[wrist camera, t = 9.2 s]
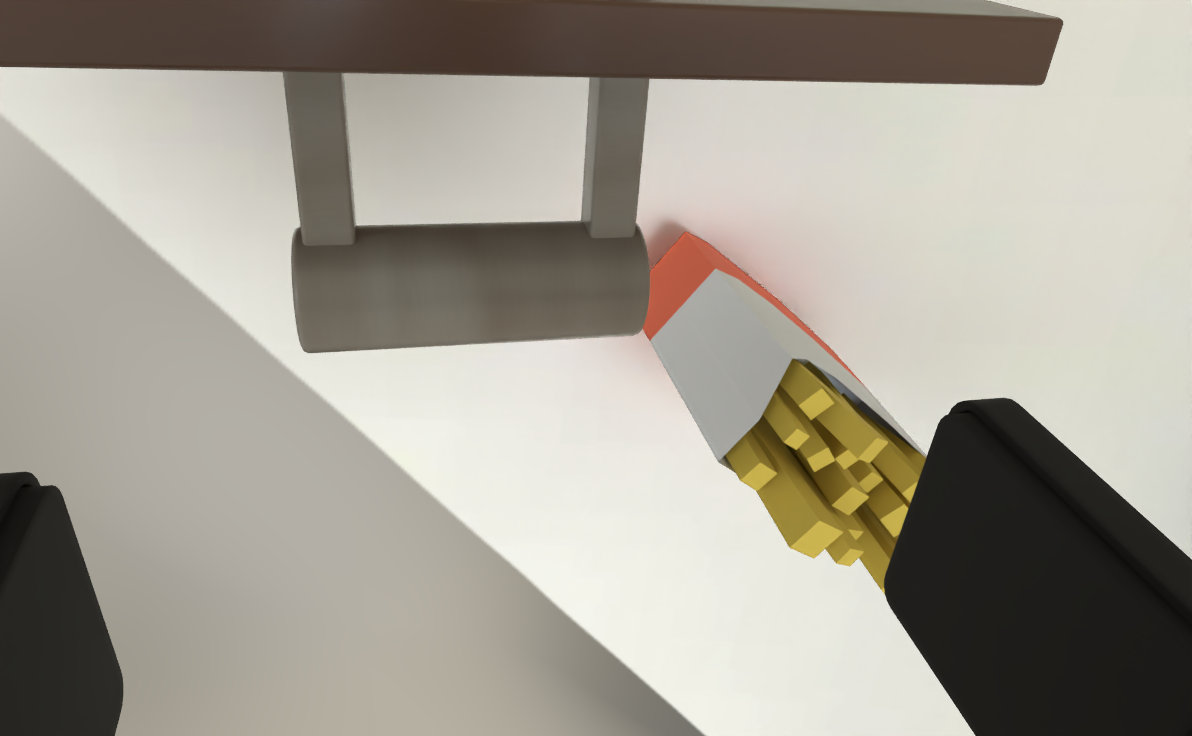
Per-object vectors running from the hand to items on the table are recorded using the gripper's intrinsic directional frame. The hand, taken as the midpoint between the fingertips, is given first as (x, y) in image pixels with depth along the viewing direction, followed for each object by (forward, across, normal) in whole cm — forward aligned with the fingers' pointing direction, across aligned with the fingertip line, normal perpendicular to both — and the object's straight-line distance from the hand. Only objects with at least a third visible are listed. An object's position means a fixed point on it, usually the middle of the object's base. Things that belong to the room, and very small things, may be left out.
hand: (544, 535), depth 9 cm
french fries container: (+29, -15, +13) cm, 35 cm away
